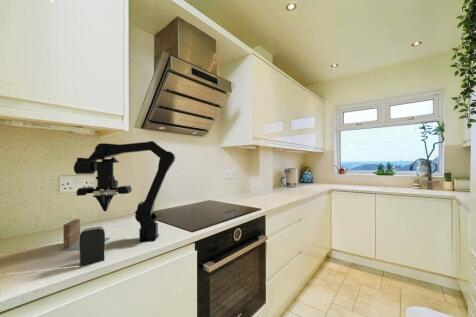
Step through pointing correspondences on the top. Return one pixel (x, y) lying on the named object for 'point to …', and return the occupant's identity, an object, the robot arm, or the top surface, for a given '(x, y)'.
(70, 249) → the mat
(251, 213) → the top surface
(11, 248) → the top surface
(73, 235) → the board
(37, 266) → the top surface
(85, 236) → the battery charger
